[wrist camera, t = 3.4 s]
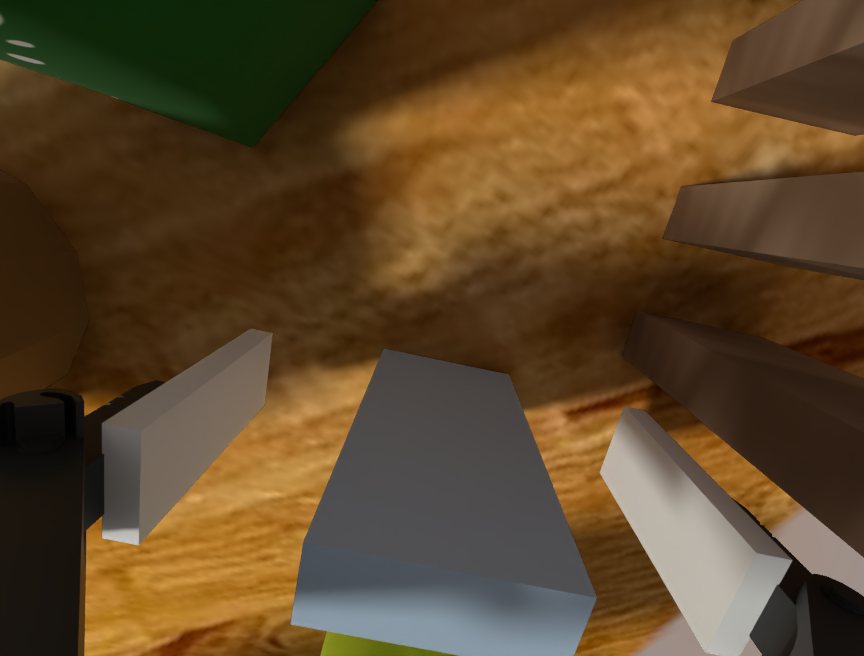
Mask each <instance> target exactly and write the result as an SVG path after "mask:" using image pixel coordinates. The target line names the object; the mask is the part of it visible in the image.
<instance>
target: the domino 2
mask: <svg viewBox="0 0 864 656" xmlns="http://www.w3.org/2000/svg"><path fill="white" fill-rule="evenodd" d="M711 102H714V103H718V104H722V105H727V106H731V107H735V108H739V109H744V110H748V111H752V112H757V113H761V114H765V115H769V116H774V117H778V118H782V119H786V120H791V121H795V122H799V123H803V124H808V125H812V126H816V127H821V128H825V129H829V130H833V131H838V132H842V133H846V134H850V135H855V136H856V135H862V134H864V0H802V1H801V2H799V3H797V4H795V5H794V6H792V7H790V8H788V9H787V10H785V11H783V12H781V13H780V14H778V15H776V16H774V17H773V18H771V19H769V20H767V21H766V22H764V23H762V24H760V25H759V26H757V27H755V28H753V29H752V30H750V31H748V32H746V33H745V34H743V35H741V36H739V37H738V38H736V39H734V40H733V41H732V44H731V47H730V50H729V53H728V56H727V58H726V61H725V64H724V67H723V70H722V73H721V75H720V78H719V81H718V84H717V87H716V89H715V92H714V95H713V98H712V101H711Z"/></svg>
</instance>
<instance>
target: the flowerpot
mask: <svg viewBox="0 0 864 656" xmlns="http://www.w3.org/2000/svg"><path fill="white" fill-rule="evenodd" d="M88 323H89V316H88V310H87V305H86V300H85V295H84V289H83V284H82V279H81V274H80V268H79V263H78V258H77V253H76V250H75V249H74V248H73V246H72V245H71V244H70V242H69V241H68V240H67V238H66V237H65V236H64V234H63V233H62V232H61V230H60V229H59V227H58V226H57V225H56V223H55V222H54V221H53V219H52V218H51V217H50V215H49V214H48V213H47V211H46V210H45V209H44V207H43V206H42V204H41V203H40V202H39V200H38V199H37V198H36V196H35V195H34V194H33V192H32V191H31V190H30V188H29V187H28V186H27V185H26V184H24V183H23V182H21V181H19V180H17V179H16V178H14V177H12V176H10V175H9V174H7V173H5V172H3V171H2V170H0V400H1V399H3V398H5V397H7V396H10V395H14V394H17V393H21V392H26V391H33V390H41V389H45V388H46V387H48V386H49V385H51V384H52V383H54V382H56V381H57V380H59V379H60V378H62V377H64V376H65V375H67V374H68V371H69V369H70V367H71V364H72V362H73V359H74V357H75V354H76V352H77V349H78V347H79V345H80V342H81V340H82V337H83V335H84V332H85V330H86V328H87V325H88Z"/></svg>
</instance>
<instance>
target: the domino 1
mask: <svg viewBox="0 0 864 656" xmlns="http://www.w3.org/2000/svg"><path fill="white" fill-rule="evenodd" d="M596 600H597V596H596V594H595V591H594V589H593V586H592V584H591V581H590V579H589V576H588V574H587V571H586V569H585V566H584V564H583V561H582V558H581V556H580V553H579V551H578V548H577V546H576V543H575V541H574V538H573V536H572V533H571V531H570V528H569V525H568V523H567V520H566V518H565V515H564V513H563V510H562V508H561V505H560V503H559V500H558V498H557V495H556V493H555V490H554V487H553V485H552V482H551V480H550V477H549V475H548V472H547V470H546V467H545V465H544V462H543V460H542V457H541V455H540V452H539V449H538V447H537V444H536V442H535V439H534V437H533V434H532V432H531V429H530V427H529V424H528V422H527V419H526V417H525V414H524V411H523V409H522V406H521V404H520V401H519V399H518V396H517V394H516V391H515V389H514V386H513V384H512V381H511V378H510V376H509V374H504V373H500V372H495V371H490V370H485V369H480V368H476V367H471V366H466V365H461V364H456V363H451V362H447V361H442V360H437V359H432V358H427V357H423V356H418V355H413V354H408V353H403V352H399V351H394V350H389V349H383V351H382V354H381V356H380V359H379V361H378V364H377V366H376V368H375V371H374V373H373V376H372V378H371V380H370V383H369V385H368V388H367V390H366V392H365V395H364V397H363V400H362V402H361V404H360V407H359V409H358V412H357V414H356V417H355V419H354V421H353V424H352V426H351V429H350V431H349V433H348V436H347V438H346V441H345V443H344V445H343V448H342V450H341V453H340V455H339V457H338V460H337V462H336V465H335V467H334V469H333V472H332V474H331V477H330V479H329V482H328V484H327V486H326V489H325V491H324V494H323V496H322V498H321V501H320V503H319V506H318V508H317V510H316V513H315V515H314V518H313V520H312V522H311V525H310V527H309V530H308V532H307V535H306V537H305V539H304V542H303V548H302V554H301V561H300V567H299V573H298V580H297V586H296V592H295V599H294V605H293V612H292V618H291V625H296V626H301V627H307V628H312V629H318V630H323V631H329V632H334V633H339V634H345V635H350V636H356V637H361V638H367V639H372V640H377V641H383V642H388V643H394V644H399V645H405V646H410V647H415V648H421V649H426V650H432V651H437V652H443V653H448V654H453V655H459V656H574V654H575V652H576V649H577V647H578V644H579V642H580V639H581V637H582V634H583V632H584V629H585V627H586V624H587V622H588V620H589V617H590V615H591V612H592V610H593V607H594V605H595V602H596Z"/></svg>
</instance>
